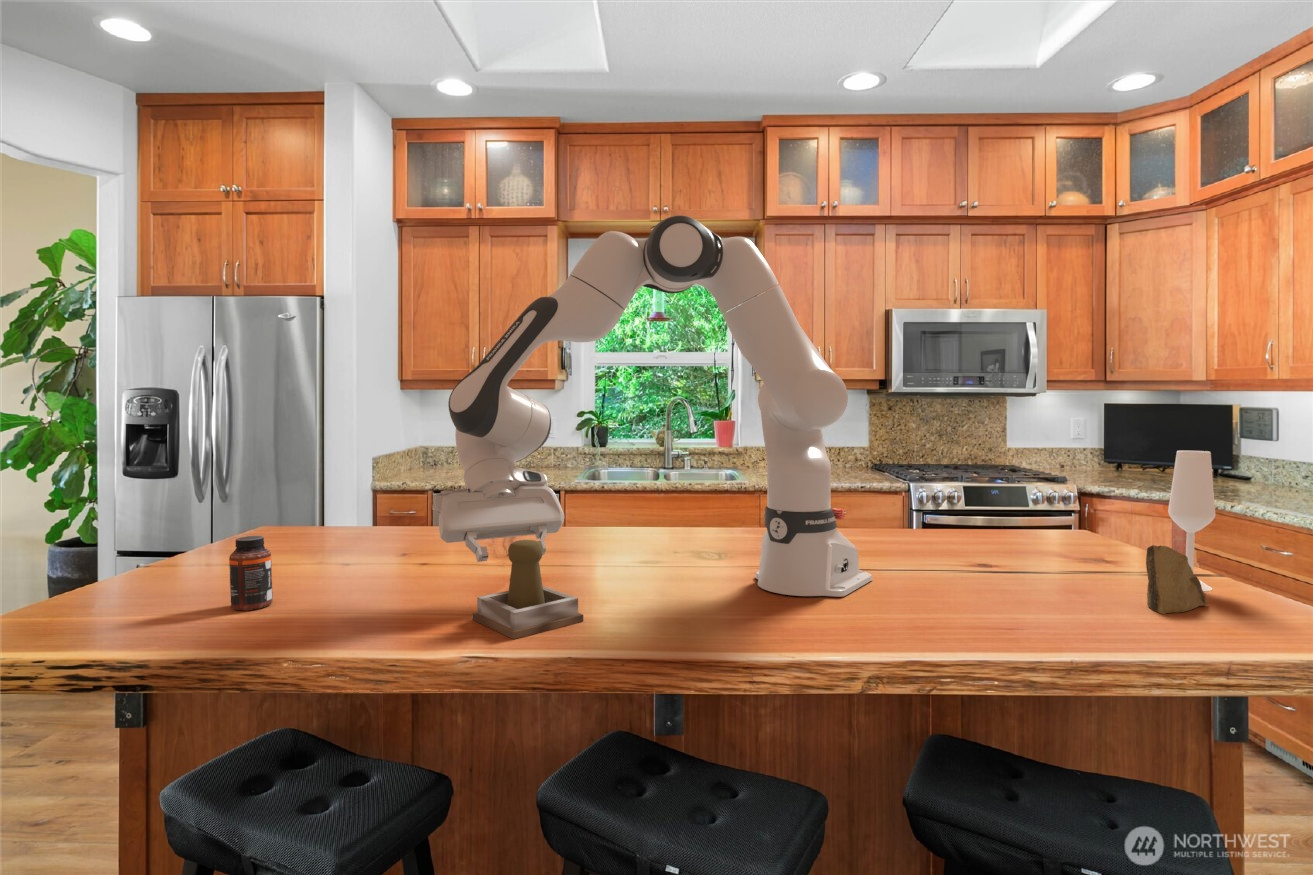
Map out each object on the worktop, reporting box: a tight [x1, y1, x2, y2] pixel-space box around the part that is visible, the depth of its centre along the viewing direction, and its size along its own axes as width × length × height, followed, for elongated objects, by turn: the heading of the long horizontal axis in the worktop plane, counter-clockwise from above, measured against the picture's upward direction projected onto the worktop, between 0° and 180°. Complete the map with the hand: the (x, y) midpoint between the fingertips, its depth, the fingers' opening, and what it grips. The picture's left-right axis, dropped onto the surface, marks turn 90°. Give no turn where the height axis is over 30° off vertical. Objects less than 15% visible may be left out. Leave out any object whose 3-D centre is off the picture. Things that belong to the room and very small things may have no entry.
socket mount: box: [472, 585, 584, 640], centre depth 107 cm, size 12×12×4 cm
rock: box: [1145, 544, 1209, 615], centre depth 112 cm, size 11×9×10 cm
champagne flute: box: [1167, 450, 1217, 592], centre depth 125 cm, size 7×7×24 cm
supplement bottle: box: [228, 535, 273, 611], centre depth 115 cm, size 6×6×11 cm
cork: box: [507, 539, 545, 609], centre depth 108 cm, size 6×6×11 cm
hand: (512, 556), depth 112 cm, fingers open, 8 cm apart
